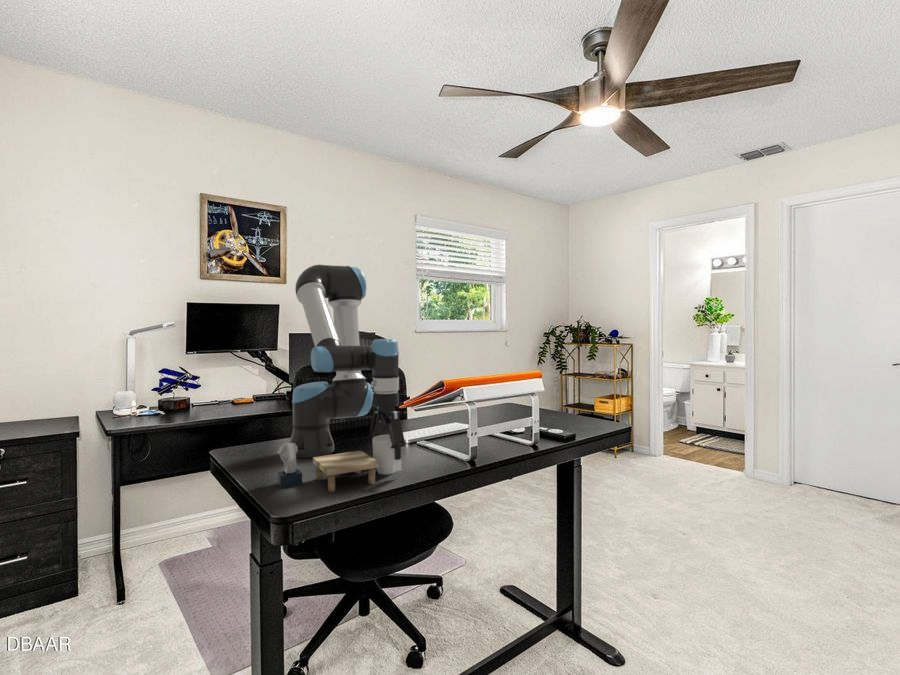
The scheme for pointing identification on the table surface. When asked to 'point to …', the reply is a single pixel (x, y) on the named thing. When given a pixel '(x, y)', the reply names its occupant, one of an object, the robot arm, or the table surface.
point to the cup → (382, 453)
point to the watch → (289, 466)
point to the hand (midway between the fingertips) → (386, 465)
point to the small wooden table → (344, 466)
